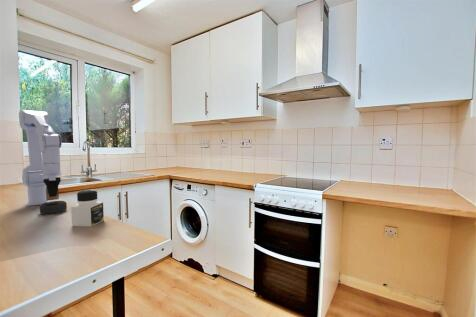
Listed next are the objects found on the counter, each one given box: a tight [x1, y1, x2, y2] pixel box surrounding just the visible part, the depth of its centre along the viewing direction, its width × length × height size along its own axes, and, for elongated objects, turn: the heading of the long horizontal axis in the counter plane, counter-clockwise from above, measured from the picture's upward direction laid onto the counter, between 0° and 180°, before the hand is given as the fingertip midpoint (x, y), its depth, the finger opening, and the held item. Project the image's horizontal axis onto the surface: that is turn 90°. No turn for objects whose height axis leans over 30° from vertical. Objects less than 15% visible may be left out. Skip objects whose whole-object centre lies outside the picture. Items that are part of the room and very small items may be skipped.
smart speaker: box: [39, 200, 68, 215], centre depth 98 cm, size 9×9×4 cm
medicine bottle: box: [70, 189, 105, 228], centre depth 83 cm, size 7×7×12 cm
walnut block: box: [46, 187, 60, 201], centre depth 97 cm, size 4×4×5 cm
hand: (53, 195), depth 97 cm, fingers closed on walnut block, 4 cm apart
